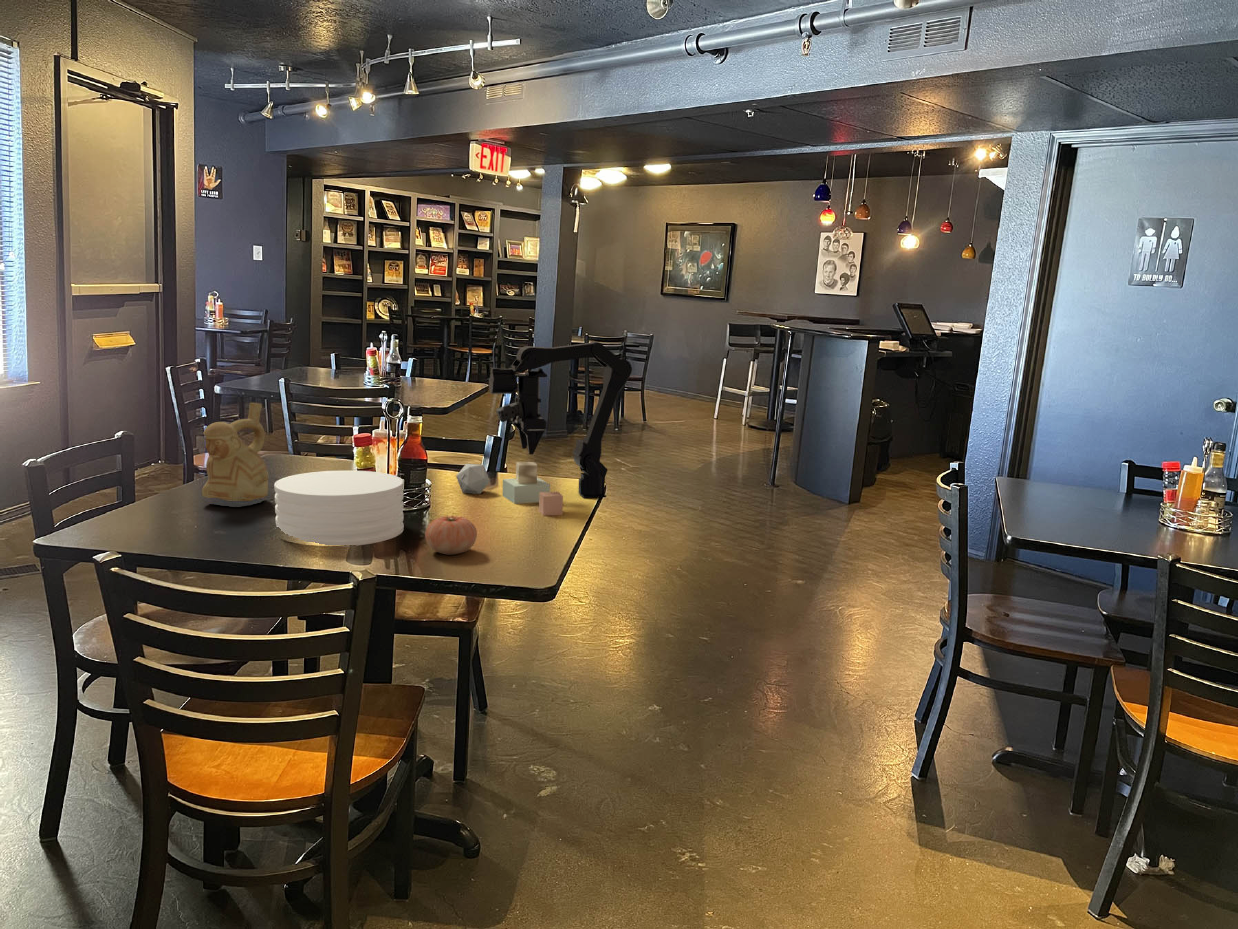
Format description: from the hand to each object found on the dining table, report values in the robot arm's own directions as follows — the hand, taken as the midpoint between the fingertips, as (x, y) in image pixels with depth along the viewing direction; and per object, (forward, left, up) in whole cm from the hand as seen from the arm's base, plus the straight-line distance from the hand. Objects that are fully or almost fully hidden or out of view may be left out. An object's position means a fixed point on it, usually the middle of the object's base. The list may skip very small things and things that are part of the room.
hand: (527, 451), depth 248 cm
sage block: (0, 0, -13) cm, 13 cm away
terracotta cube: (-3, +17, -13) cm, 22 cm away
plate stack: (+49, +27, -13) cm, 57 cm away
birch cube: (0, 0, -8) cm, 8 cm away
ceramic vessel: (+73, -4, -13) cm, 74 cm away
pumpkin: (+26, +49, -13) cm, 58 cm away
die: (+13, -10, -13) cm, 21 cm away
